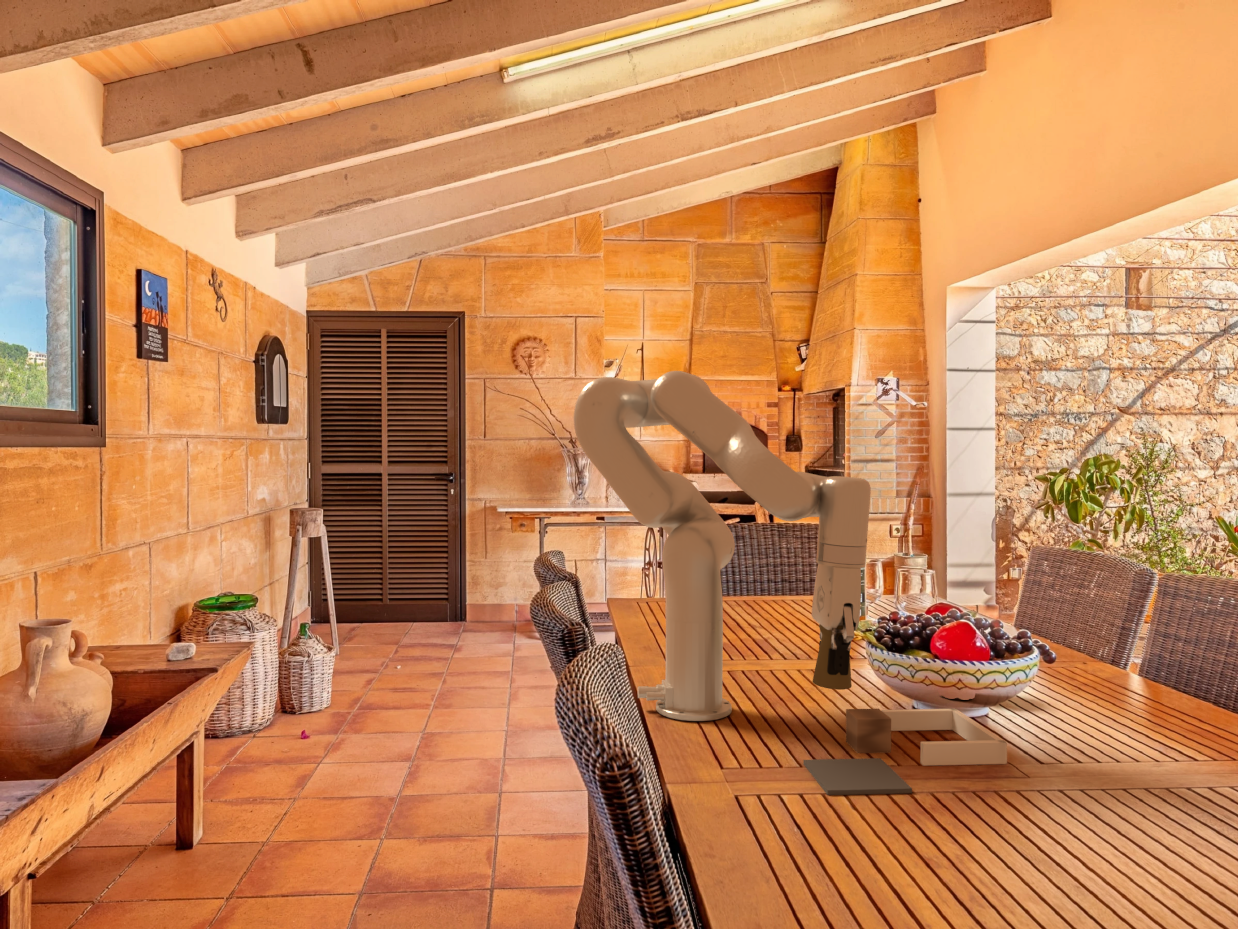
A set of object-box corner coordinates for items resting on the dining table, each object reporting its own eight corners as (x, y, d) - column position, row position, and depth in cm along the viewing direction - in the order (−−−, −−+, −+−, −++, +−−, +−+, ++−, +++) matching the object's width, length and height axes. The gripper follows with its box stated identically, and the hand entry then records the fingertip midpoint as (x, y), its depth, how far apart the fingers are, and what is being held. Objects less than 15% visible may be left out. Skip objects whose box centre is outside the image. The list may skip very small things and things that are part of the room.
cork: (852, 691, 136) (858, 620, 135) (812, 686, 137) (817, 616, 137) (850, 681, 142) (855, 613, 141) (812, 676, 143) (817, 609, 143)
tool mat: (827, 795, 112) (827, 790, 112) (803, 764, 123) (803, 759, 123) (912, 793, 113) (912, 788, 113) (880, 762, 124) (880, 758, 124)
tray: (923, 765, 122) (923, 744, 122) (881, 729, 138) (881, 709, 138) (1006, 763, 123) (1007, 742, 123) (955, 727, 139) (955, 708, 139)
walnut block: (857, 753, 127) (857, 719, 127) (845, 742, 132) (846, 709, 132) (890, 753, 128) (891, 718, 128) (878, 741, 133) (878, 708, 133)
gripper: (802, 546, 147) (795, 655, 147) (834, 562, 130) (825, 684, 131) (847, 549, 147) (839, 657, 148) (883, 564, 131) (874, 687, 131)
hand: (832, 669), depth 139 cm, fingers closed on cork, 4 cm apart
